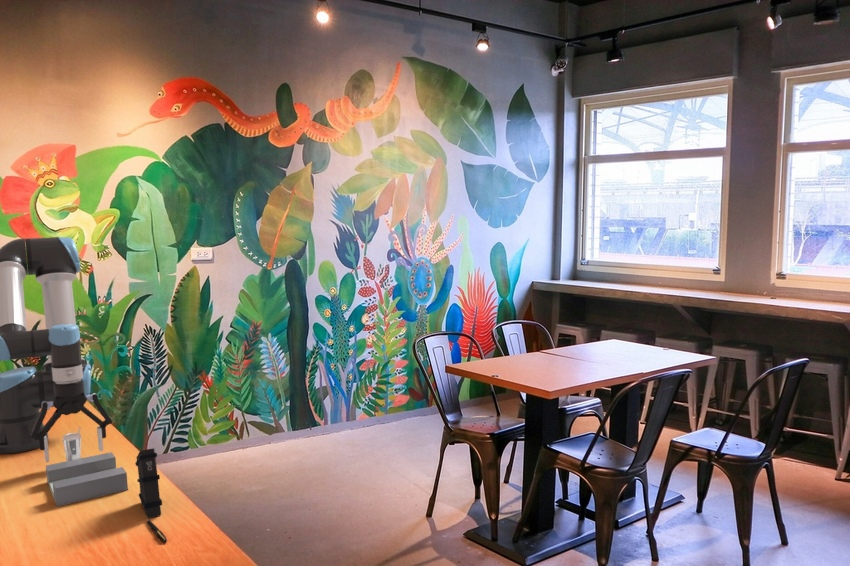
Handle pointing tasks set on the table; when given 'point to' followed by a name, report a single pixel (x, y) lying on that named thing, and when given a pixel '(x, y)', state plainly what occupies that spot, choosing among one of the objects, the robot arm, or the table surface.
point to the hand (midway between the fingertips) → (74, 455)
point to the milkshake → (72, 445)
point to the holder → (85, 478)
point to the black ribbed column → (149, 482)
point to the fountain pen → (157, 531)
